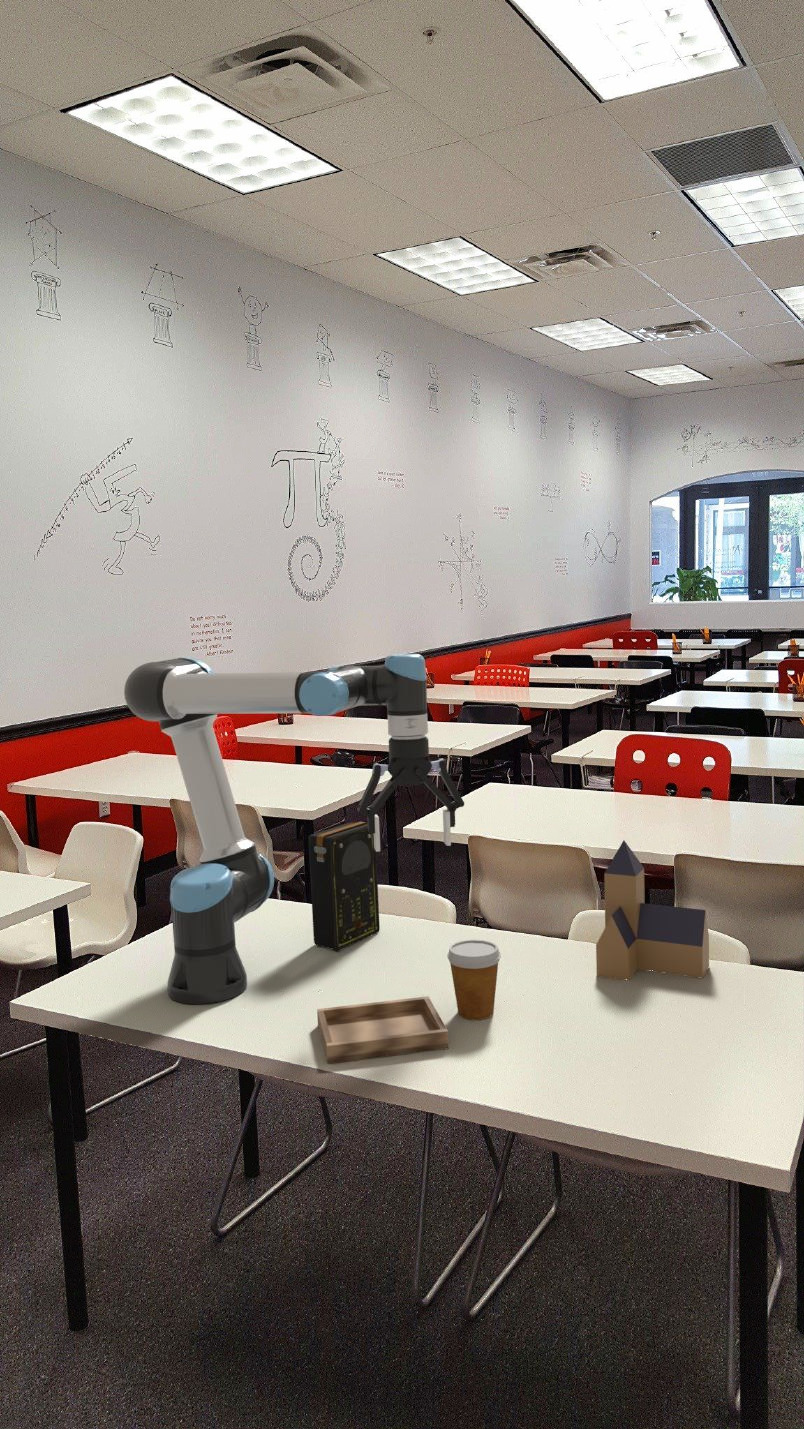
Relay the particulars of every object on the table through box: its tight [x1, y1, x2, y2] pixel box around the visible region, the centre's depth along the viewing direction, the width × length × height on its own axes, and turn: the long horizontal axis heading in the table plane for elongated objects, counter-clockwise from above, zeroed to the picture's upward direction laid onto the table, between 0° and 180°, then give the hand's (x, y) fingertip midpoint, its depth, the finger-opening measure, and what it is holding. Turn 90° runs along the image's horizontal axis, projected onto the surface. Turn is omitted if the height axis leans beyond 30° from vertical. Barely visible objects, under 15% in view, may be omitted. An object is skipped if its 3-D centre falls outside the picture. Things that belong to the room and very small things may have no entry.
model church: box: [595, 839, 710, 981], centre depth 193 cm, size 12×19×25 cm
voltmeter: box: [308, 821, 381, 953], centre depth 218 cm, size 16×9×25 cm, turn 143°
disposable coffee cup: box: [446, 939, 502, 1021], centre depth 178 cm, size 10×10×12 cm
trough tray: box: [316, 995, 450, 1065], centre depth 170 cm, size 20×15×3 cm
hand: (412, 847), depth 191 cm, fingers open, 13 cm apart
